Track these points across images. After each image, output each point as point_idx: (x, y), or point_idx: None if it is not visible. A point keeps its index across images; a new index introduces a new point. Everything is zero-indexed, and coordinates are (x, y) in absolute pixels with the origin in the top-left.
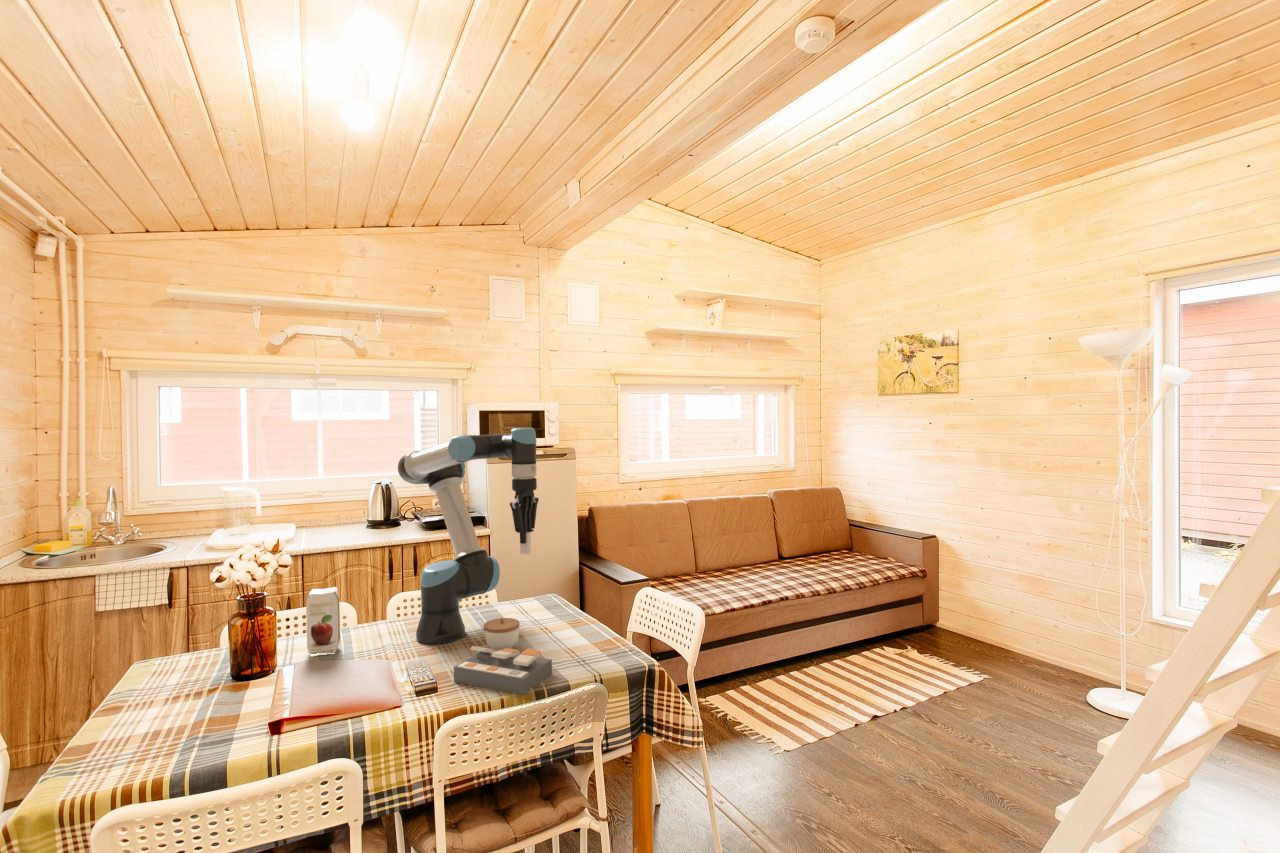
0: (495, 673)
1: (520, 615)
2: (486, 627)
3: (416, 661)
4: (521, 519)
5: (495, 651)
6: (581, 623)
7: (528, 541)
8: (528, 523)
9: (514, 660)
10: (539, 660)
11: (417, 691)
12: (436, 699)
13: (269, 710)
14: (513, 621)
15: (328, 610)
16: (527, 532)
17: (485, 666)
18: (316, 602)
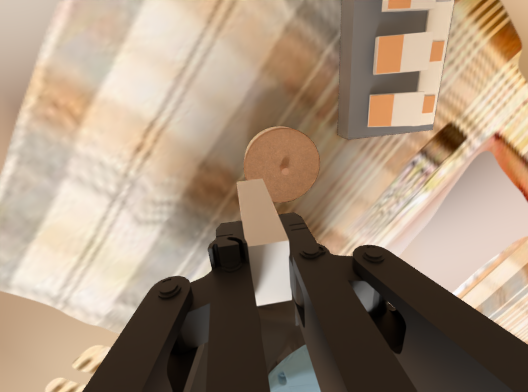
0: (447, 33)
1: (112, 243)
2: (315, 178)
3: (365, 230)
4: (498, 351)
5: (380, 94)
6: (56, 92)
7: (263, 208)
8: (258, 324)
9: (434, 4)
10: None
11: (452, 149)
12: (472, 103)
13: (514, 252)
14: (264, 151)
15: None
16: (263, 259)
17: (426, 73)
18: None
